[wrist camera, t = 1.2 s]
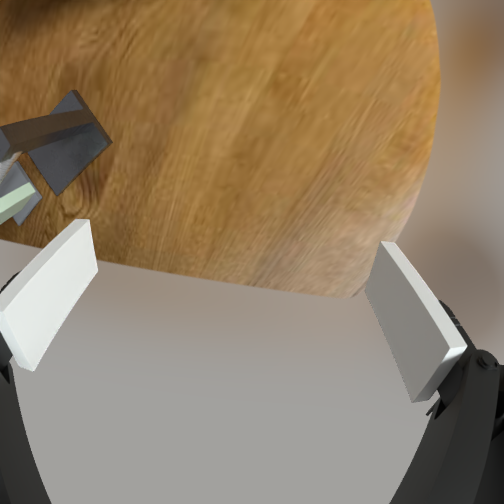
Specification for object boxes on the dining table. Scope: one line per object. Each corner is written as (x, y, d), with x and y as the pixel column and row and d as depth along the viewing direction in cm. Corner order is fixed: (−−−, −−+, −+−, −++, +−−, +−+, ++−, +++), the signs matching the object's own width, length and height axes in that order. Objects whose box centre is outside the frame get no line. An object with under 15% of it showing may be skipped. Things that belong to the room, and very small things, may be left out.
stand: (22, 154, 35) (-59, 193, 20) (77, 89, 32) (-15, 99, 16) (54, 201, 39) (-21, 257, 24) (113, 141, 36) (30, 177, 20)
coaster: (-2, 190, 38) (-4, 191, 37) (17, 160, 36) (14, 162, 35) (21, 224, 41) (19, 226, 40) (42, 197, 39) (39, 199, 38)
